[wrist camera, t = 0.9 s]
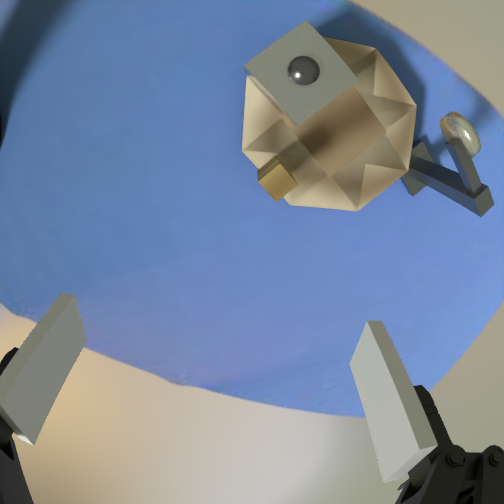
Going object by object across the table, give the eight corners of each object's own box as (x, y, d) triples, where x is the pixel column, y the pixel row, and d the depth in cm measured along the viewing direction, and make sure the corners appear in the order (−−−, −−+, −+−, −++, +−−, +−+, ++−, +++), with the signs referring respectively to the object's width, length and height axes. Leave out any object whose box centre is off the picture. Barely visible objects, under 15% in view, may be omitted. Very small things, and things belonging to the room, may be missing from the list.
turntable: (207, 113, 29) (194, 114, 22) (338, 15, 23) (358, -6, 17) (315, 234, 35) (328, 263, 28) (430, 143, 29) (464, 153, 23)
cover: (245, 72, 25) (243, 64, 21) (299, 31, 23) (307, 18, 19) (293, 124, 27) (299, 126, 23) (346, 84, 25) (361, 79, 21)
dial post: (365, 125, 31) (436, 139, 17) (395, 102, 29) (475, 106, 16) (409, 194, 34) (480, 244, 21) (436, 171, 33) (513, 211, 19)
